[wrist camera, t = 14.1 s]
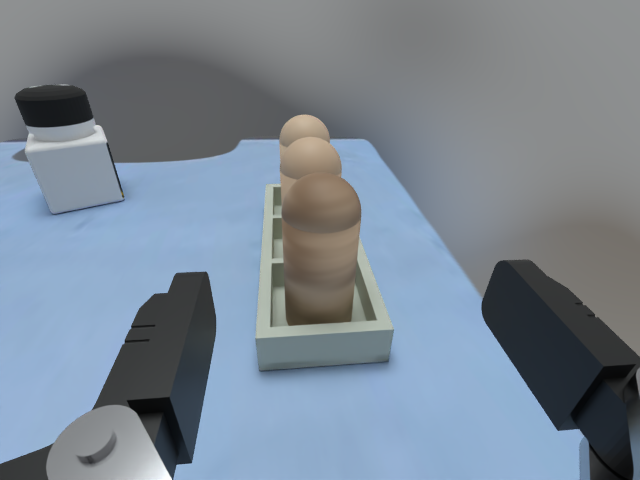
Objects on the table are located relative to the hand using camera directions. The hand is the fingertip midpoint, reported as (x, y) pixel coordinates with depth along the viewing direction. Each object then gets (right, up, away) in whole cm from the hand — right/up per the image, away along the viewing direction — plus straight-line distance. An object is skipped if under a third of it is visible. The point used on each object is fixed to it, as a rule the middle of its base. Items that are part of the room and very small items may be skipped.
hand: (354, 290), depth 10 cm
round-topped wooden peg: (-1, -4, +15) cm, 15 cm away
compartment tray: (-2, -1, +21) cm, 21 cm away
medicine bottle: (-28, +6, +32) cm, 43 cm away
